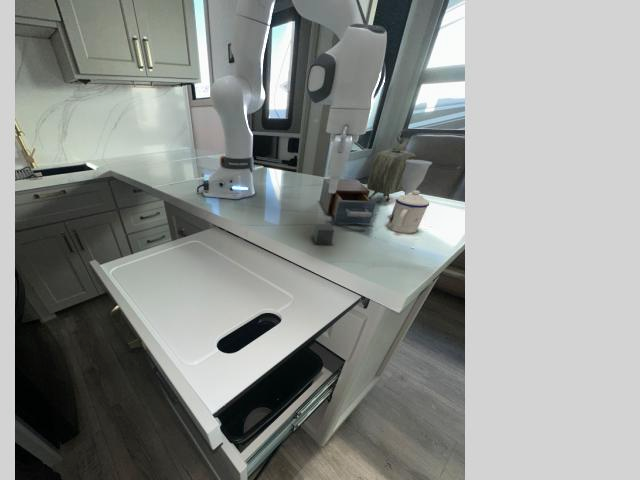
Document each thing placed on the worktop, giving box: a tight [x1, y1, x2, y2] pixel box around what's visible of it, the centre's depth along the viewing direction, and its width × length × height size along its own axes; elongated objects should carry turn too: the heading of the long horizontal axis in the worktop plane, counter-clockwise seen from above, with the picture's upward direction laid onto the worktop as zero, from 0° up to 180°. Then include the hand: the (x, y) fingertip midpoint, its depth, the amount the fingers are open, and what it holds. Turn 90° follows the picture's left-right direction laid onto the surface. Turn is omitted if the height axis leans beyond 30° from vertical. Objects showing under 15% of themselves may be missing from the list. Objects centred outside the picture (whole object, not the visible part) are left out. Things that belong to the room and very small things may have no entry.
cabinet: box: [319, 178, 371, 216], centre depth 99 cm, size 16×13×9 cm
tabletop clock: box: [366, 128, 418, 203], centre depth 101 cm, size 14×9×25 cm, turn 122°
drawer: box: [330, 193, 377, 224], centre depth 89 cm, size 19×11×7 cm, turn 176°
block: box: [312, 223, 335, 246], centre depth 77 cm, size 4×4×4 cm
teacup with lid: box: [387, 189, 430, 234], centre depth 82 cm, size 12×9×12 cm
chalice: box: [389, 159, 433, 218], centre depth 88 cm, size 7×7×18 cm
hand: (333, 187), depth 69 cm, fingers open, 8 cm apart
